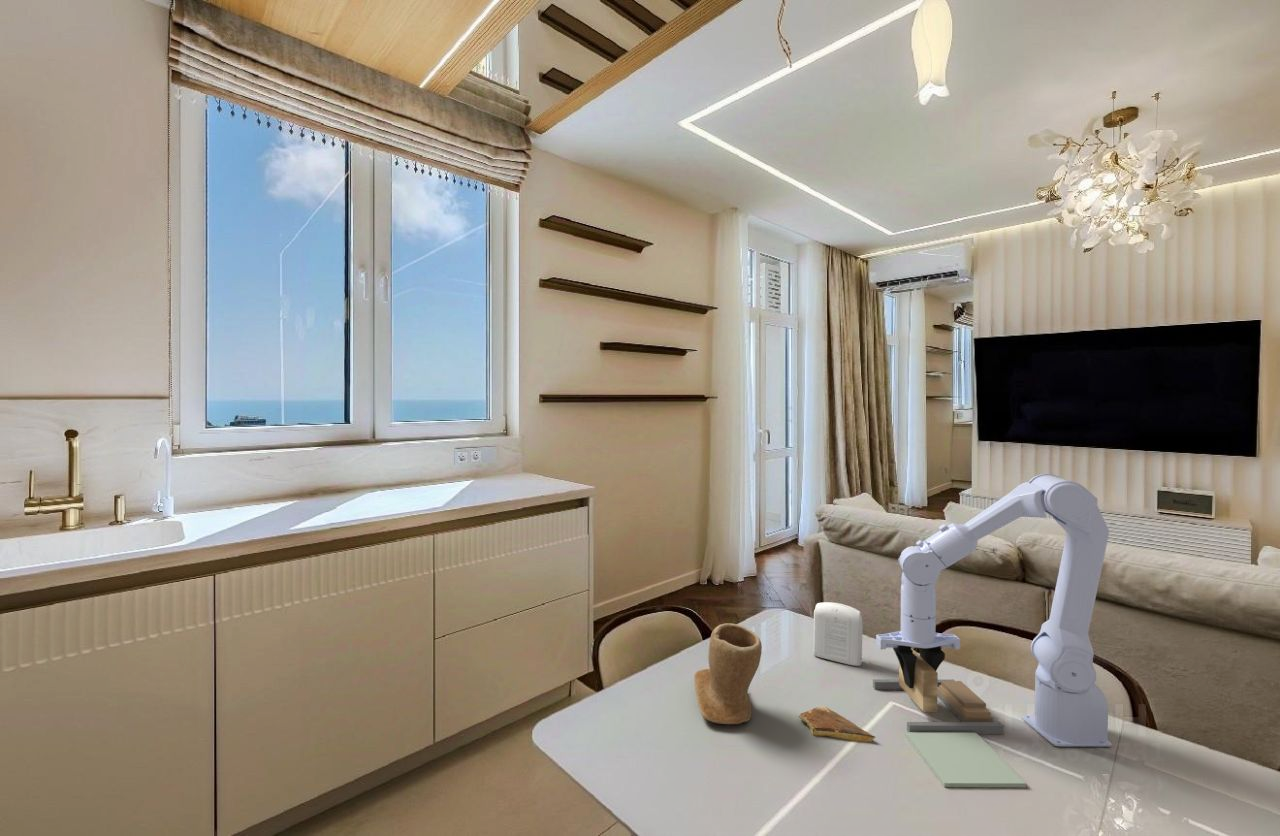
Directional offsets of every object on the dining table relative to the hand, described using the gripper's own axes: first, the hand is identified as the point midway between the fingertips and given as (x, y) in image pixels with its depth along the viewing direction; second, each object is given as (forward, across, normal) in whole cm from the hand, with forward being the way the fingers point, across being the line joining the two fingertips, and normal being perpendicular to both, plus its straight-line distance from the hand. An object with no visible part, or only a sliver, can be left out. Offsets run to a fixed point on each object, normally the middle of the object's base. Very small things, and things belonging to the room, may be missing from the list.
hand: (917, 685), depth 98 cm
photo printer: (+5, +8, -19) cm, 21 cm away
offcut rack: (+4, -3, 0) cm, 5 cm away
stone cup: (+5, +35, -1) cm, 35 cm away
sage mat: (+4, 0, +14) cm, 15 cm away
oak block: (+2, 0, 0) cm, 2 cm away
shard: (+5, +17, +5) cm, 18 cm away
